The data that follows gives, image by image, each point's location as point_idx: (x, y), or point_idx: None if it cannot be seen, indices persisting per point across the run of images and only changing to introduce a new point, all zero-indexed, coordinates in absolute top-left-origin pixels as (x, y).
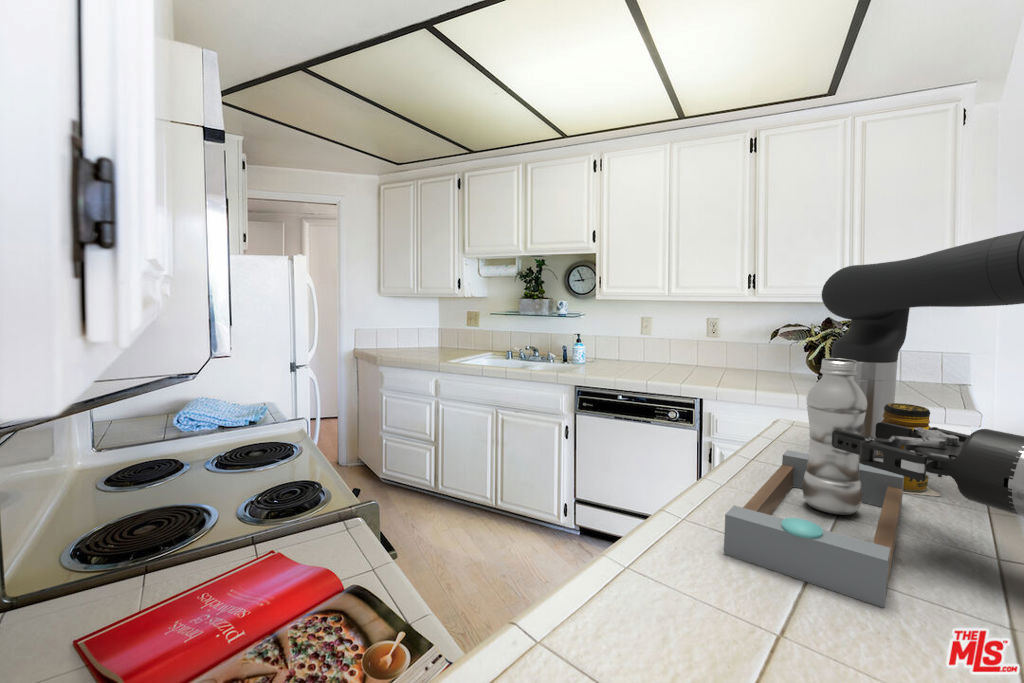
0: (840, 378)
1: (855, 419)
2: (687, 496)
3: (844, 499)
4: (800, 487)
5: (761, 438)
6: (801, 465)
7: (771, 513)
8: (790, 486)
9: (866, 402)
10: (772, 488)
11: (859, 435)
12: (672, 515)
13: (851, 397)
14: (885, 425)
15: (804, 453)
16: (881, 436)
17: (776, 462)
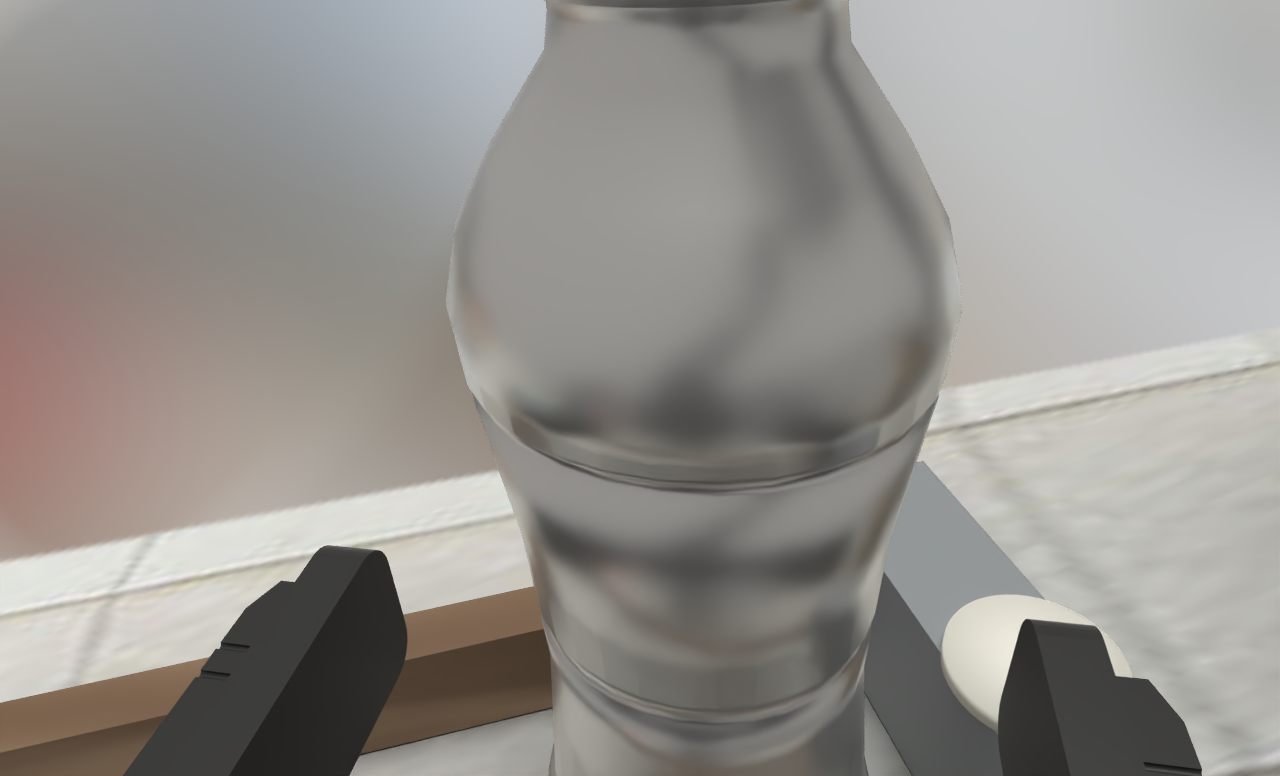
0: (563, 33)
1: (603, 520)
2: (348, 505)
3: None
4: None
5: (1236, 338)
6: None
7: (397, 742)
8: None
9: (776, 387)
10: (428, 645)
11: (217, 726)
12: (125, 564)
13: (550, 288)
14: (1047, 691)
15: (962, 516)
16: (1008, 752)
17: (1046, 478)
